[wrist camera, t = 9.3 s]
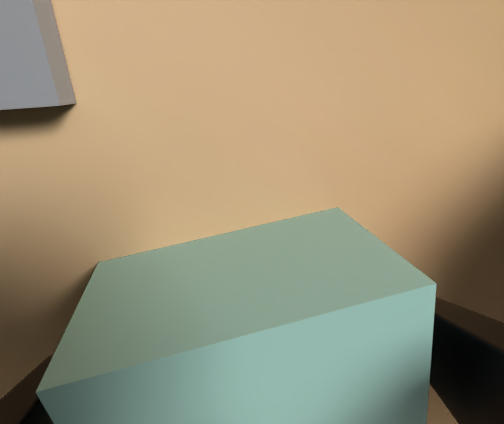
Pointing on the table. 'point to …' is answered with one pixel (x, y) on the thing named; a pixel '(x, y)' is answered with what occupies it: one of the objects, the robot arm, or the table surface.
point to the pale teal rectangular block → (250, 332)
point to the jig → (32, 57)
